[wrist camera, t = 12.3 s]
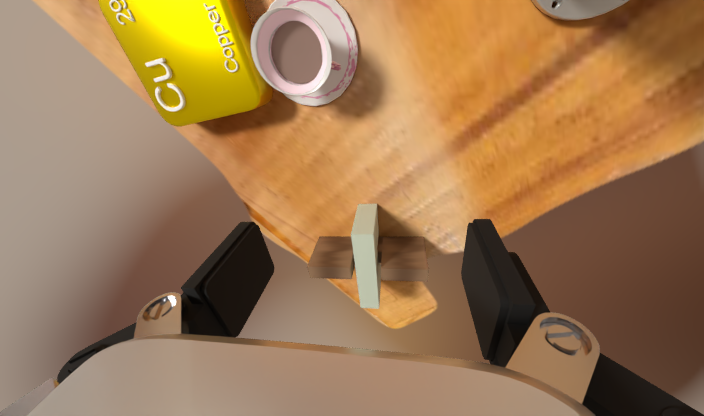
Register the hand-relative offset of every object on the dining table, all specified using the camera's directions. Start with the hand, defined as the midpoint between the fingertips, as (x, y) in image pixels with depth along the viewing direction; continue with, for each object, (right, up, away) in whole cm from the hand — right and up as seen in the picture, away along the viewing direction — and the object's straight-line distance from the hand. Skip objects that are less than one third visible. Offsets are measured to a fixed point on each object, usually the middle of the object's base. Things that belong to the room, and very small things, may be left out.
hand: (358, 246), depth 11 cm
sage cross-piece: (+3, -4, +33) cm, 33 cm away
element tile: (-19, +22, +21) cm, 36 cm away
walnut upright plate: (+3, -4, +33) cm, 33 cm away
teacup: (-5, +21, +19) cm, 29 cm away
